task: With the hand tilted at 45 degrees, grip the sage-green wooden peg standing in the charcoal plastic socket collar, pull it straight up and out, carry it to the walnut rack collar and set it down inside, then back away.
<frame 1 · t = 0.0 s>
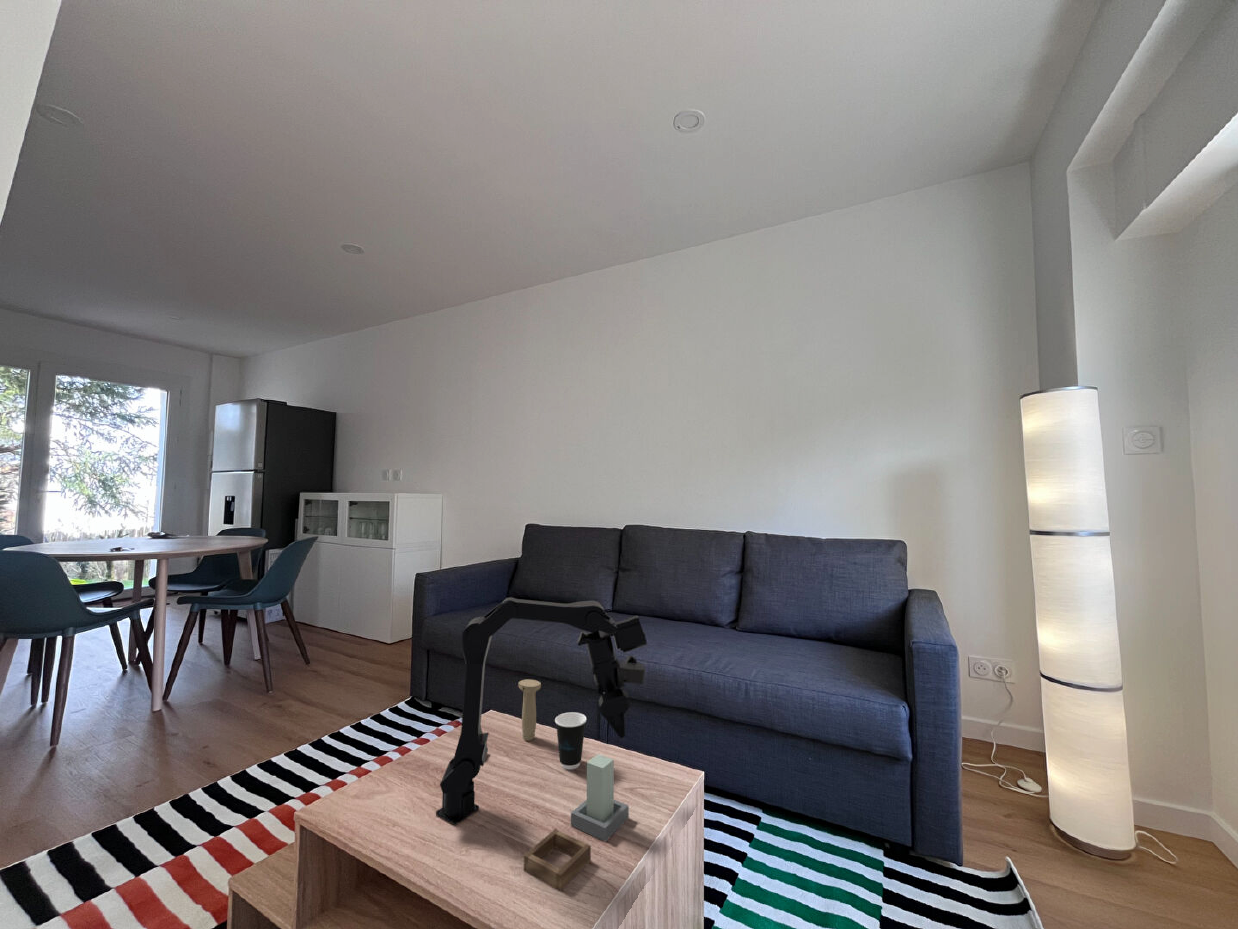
hand: (619, 727, 108), 15 cm above the table, tool pointing down, fingers open, 9 cm apart
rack: (557, 865, 88), on the table
handle: (528, 739, 135), on the table
dixie cup: (570, 765, 122), on the table
socket: (600, 822, 100), on the table
peg: (600, 791, 100), in the socket
mineral rock: (467, 762, 124), on the table
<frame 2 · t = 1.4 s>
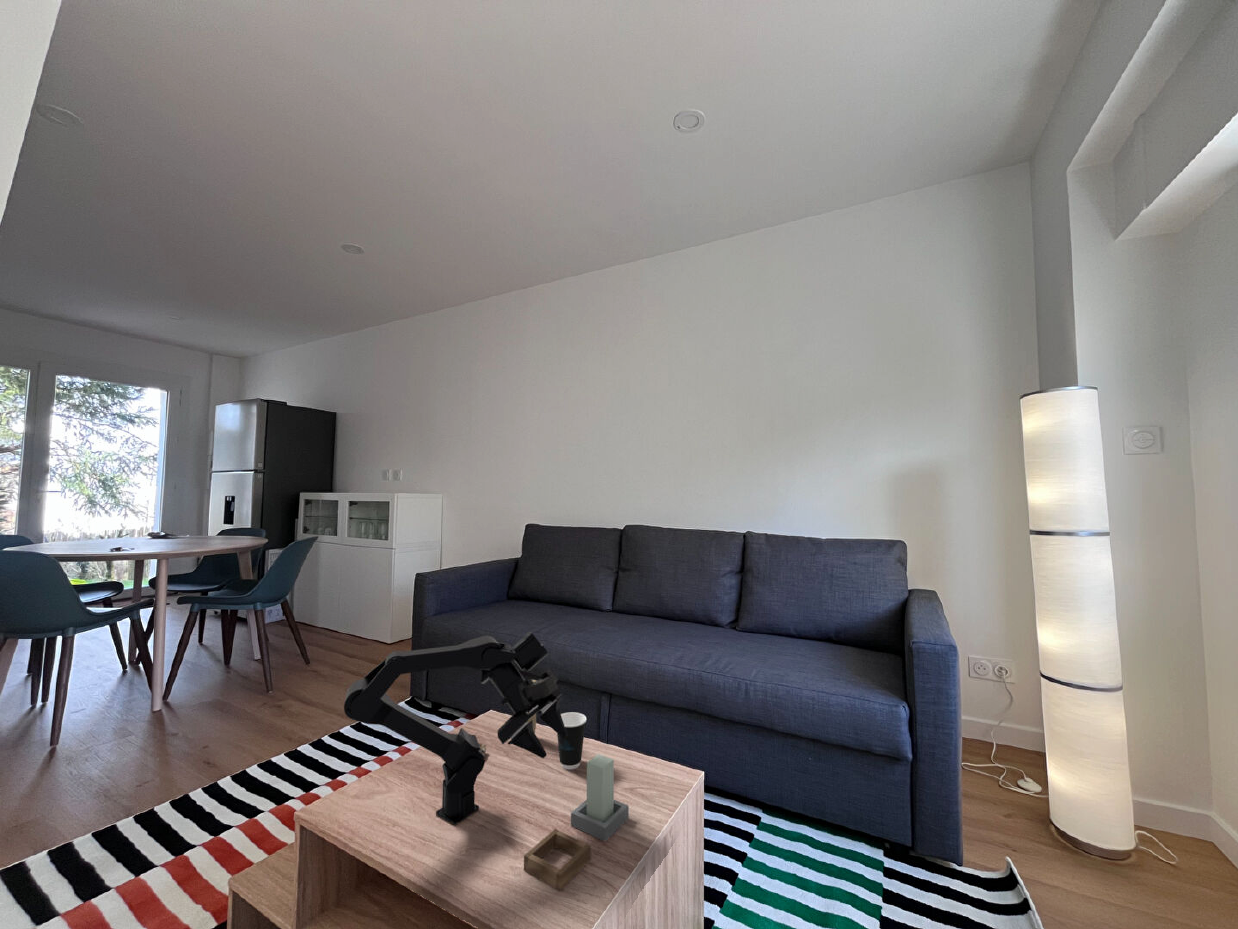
hand: (555, 746, 103), 14 cm above the table, tool tilted 45°, fingers open, 9 cm apart
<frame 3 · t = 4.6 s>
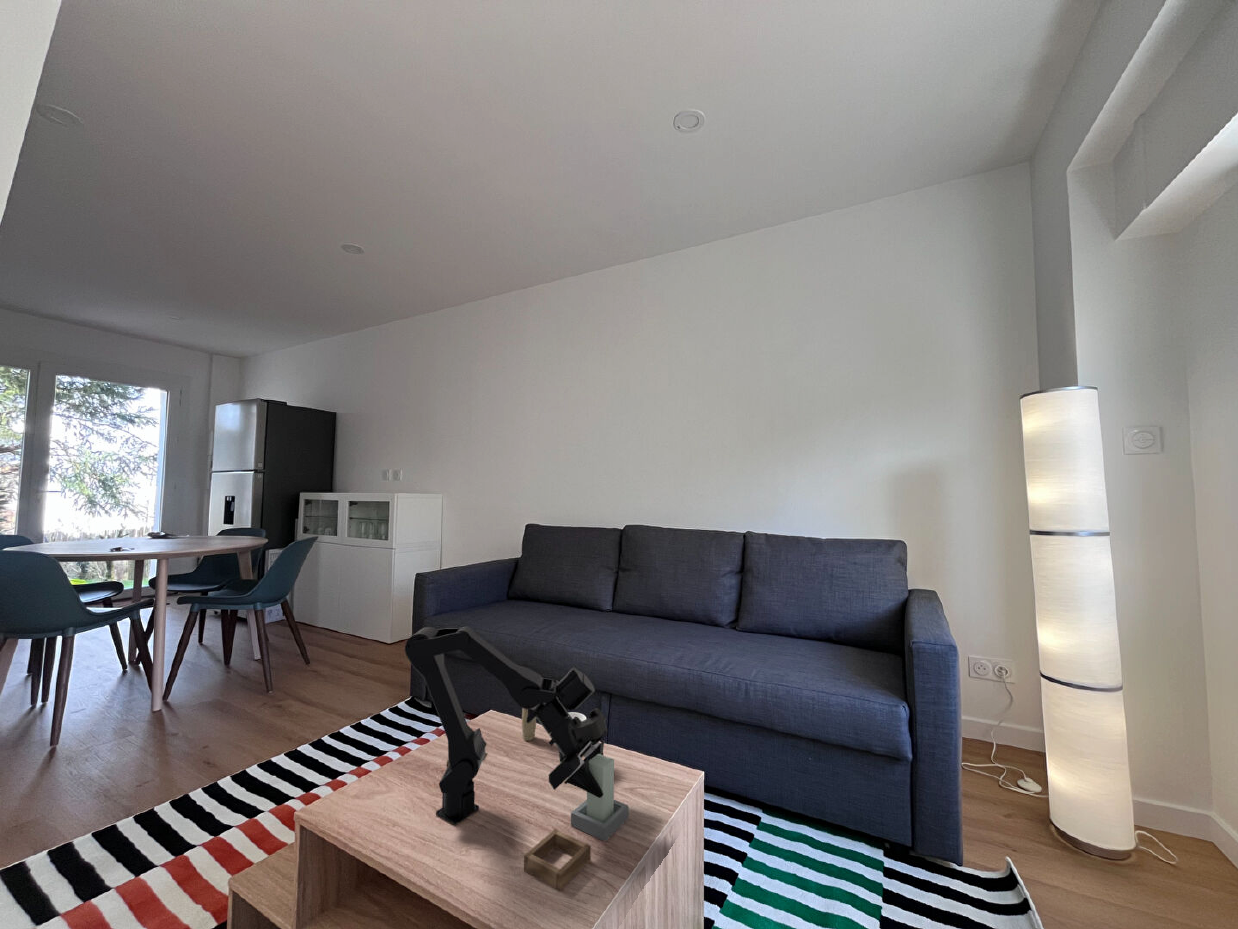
hand: (606, 789, 100), 7 cm above the table, tool tilted 45°, fingers closed on peg, 5 cm apart
peg: (600, 791, 100), in the socket, touching gripper
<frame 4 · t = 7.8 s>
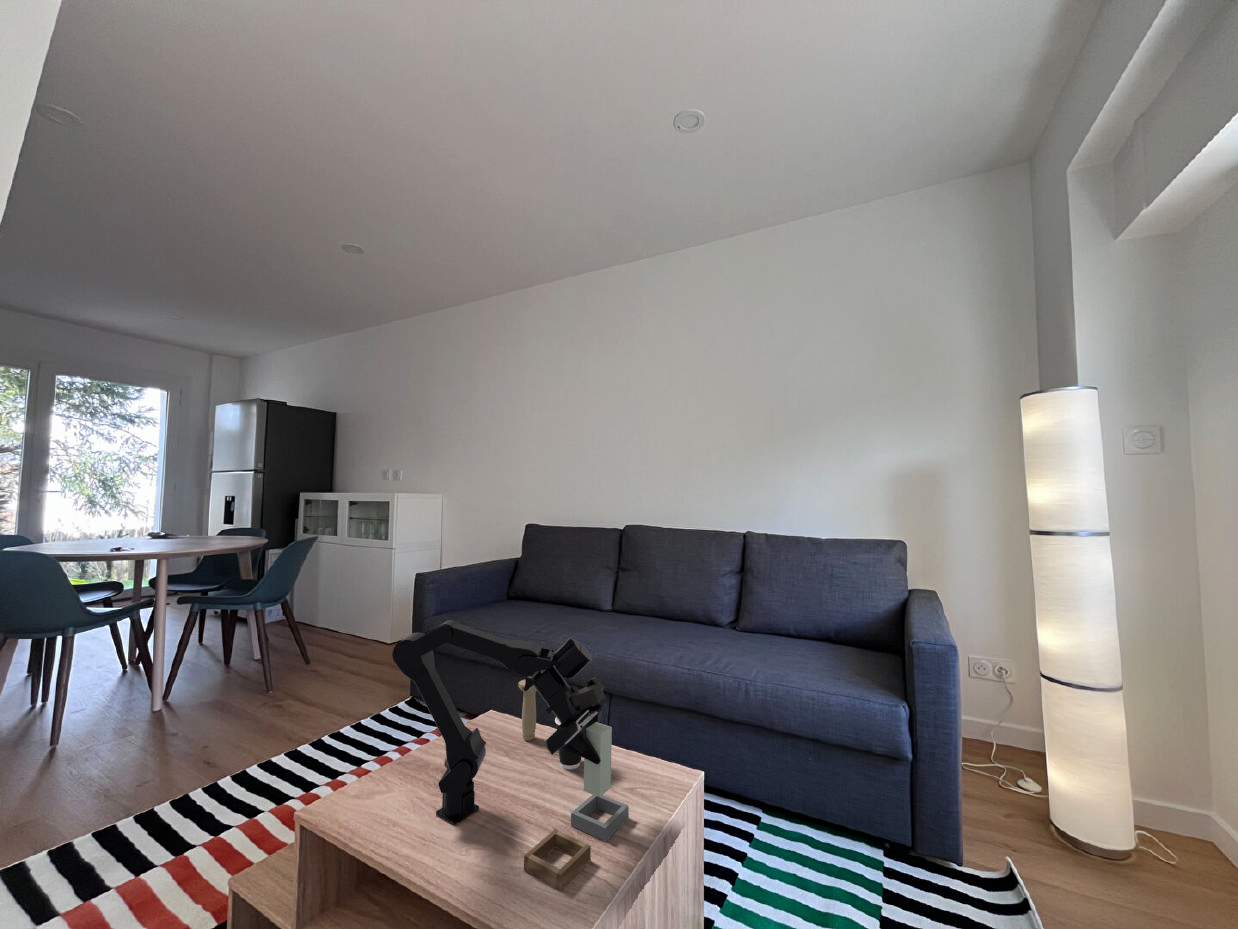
hand: (603, 757, 100), 13 cm above the table, tool tilted 45°, fingers closed on peg, 5 cm apart
peg: (597, 758, 100), point 13 cm above the table, touching gripper
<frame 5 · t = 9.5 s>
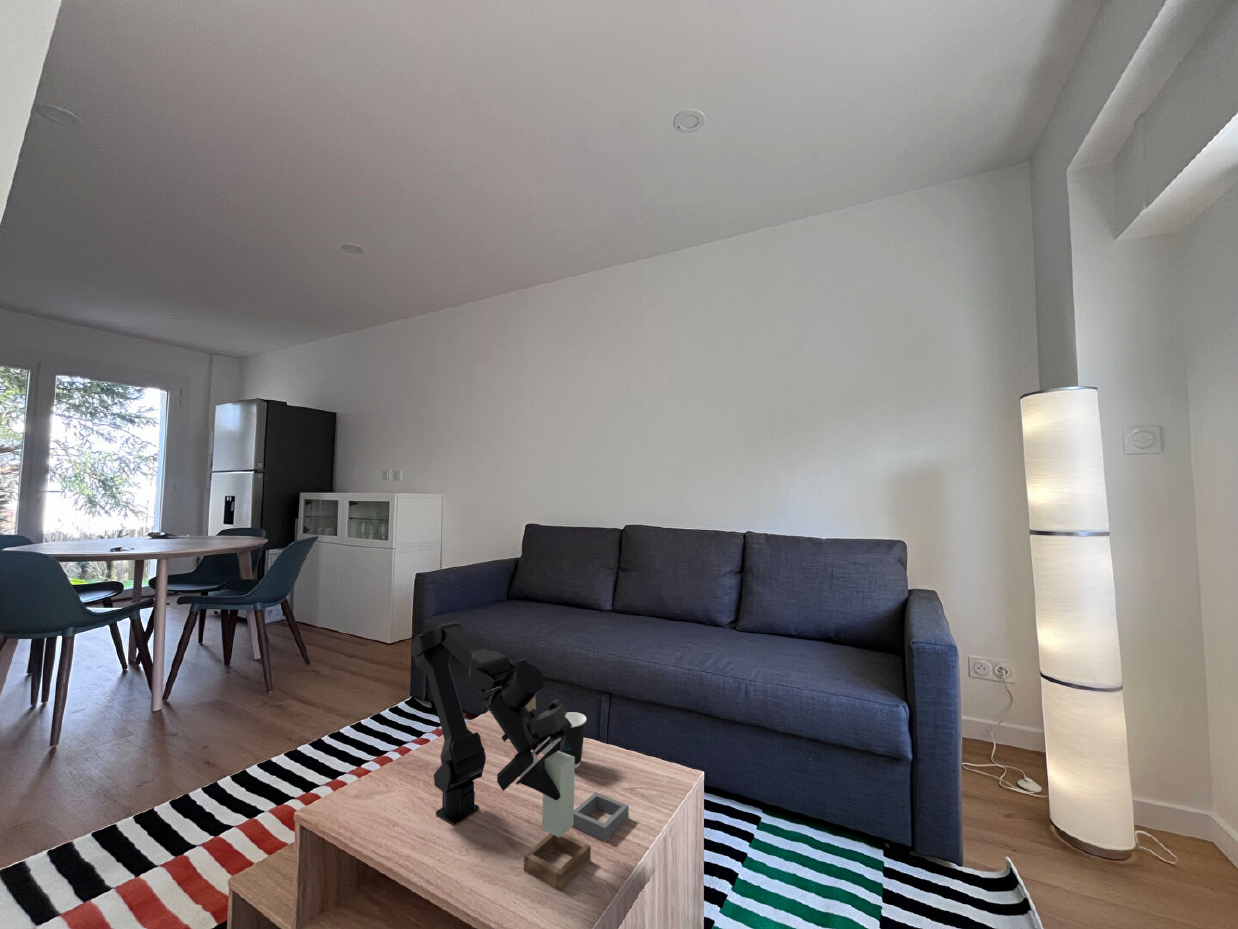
hand: (565, 791, 88), 13 cm above the table, tool tilted 45°, fingers closed on peg, 5 cm apart
peg: (558, 792, 89), point 12 cm above the table, touching gripper
when the fingers open (8 cm above the table, at t = 10.9 s): peg drops 1 cm, resting in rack.
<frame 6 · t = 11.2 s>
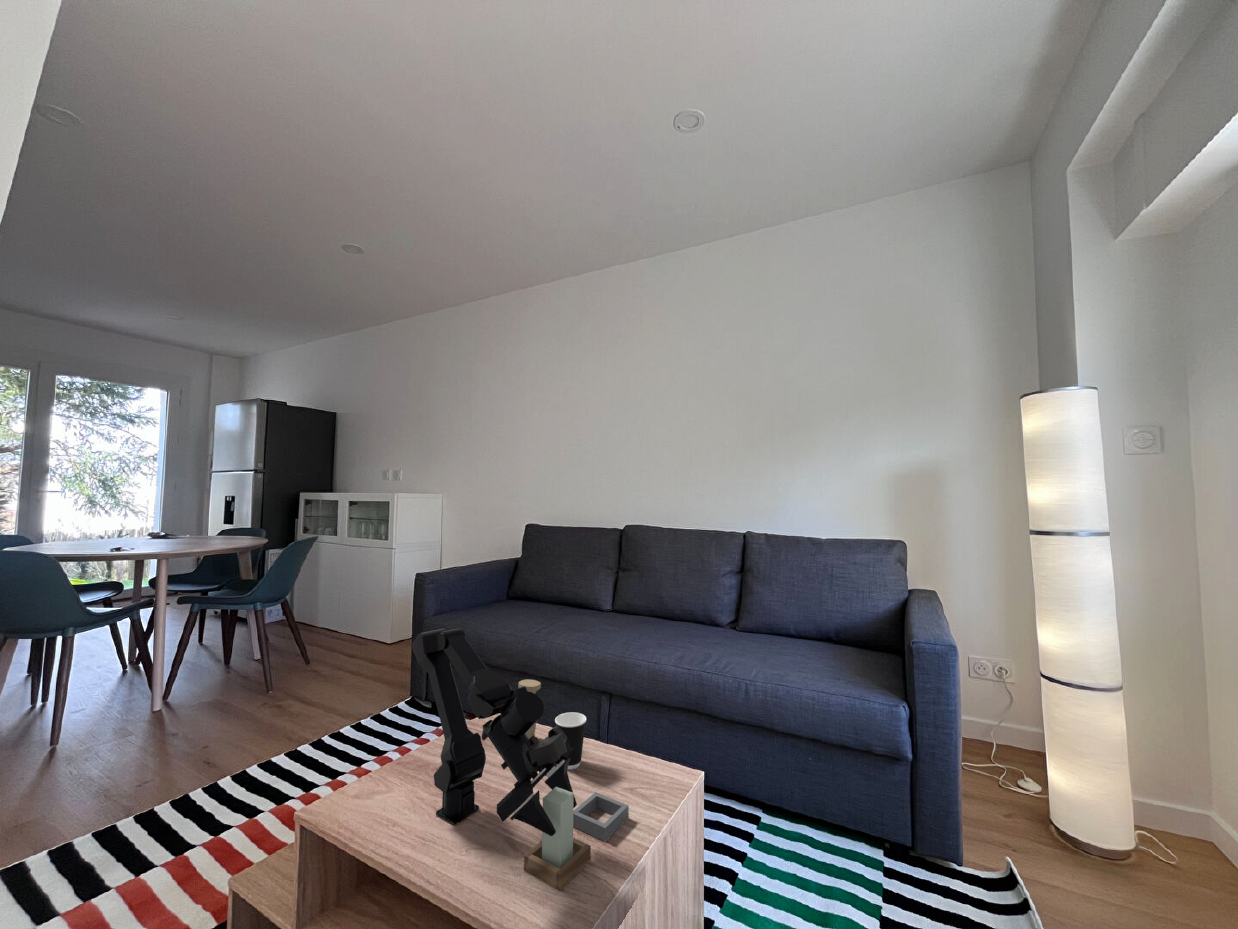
hand: (564, 820, 88), 8 cm above the table, tool tilted 45°, fingers open, 8 cm apart
peg: (557, 830, 88), in the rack
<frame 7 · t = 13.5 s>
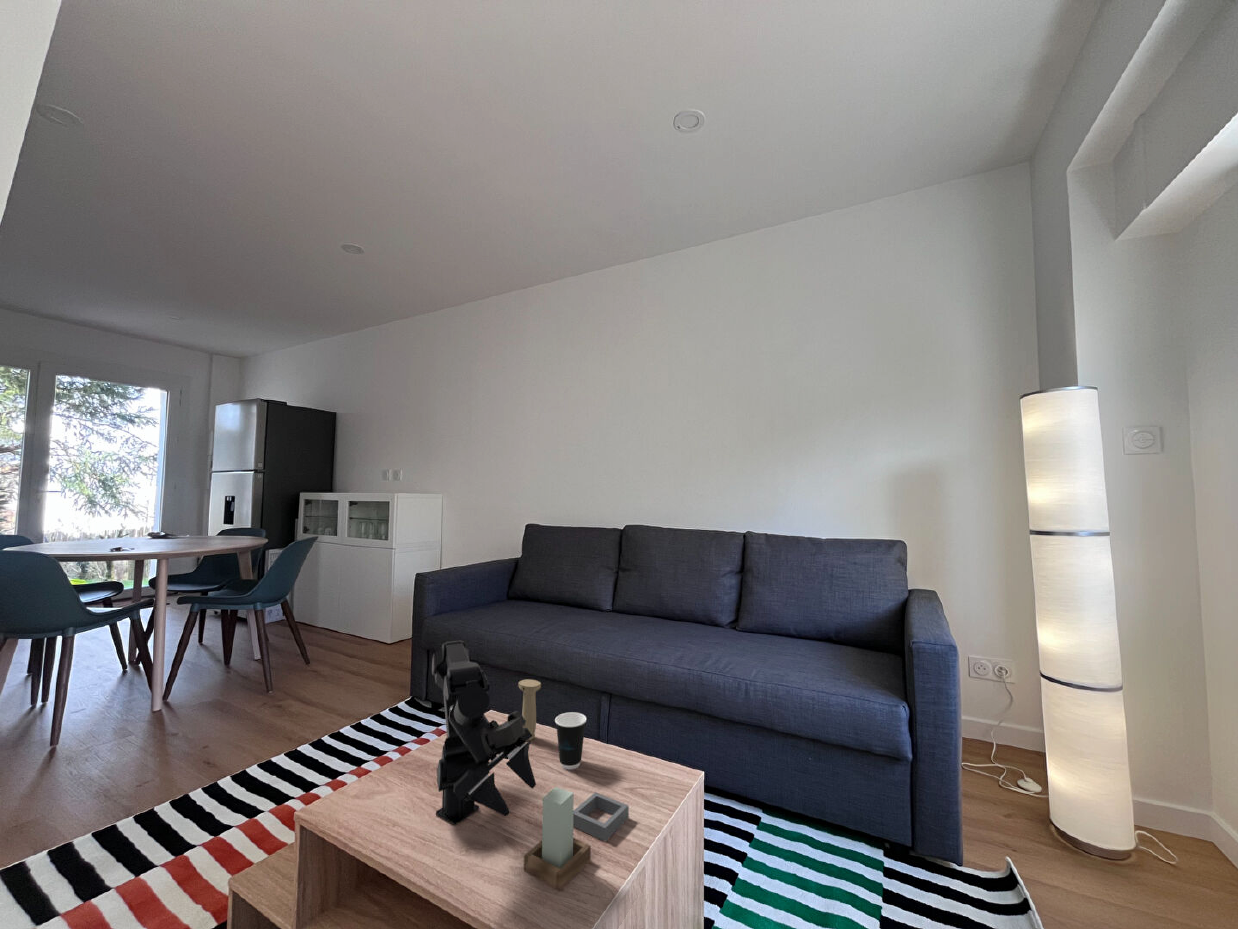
hand: (521, 800, 92), 10 cm above the table, tool tilted 45°, fingers open, 9 cm apart
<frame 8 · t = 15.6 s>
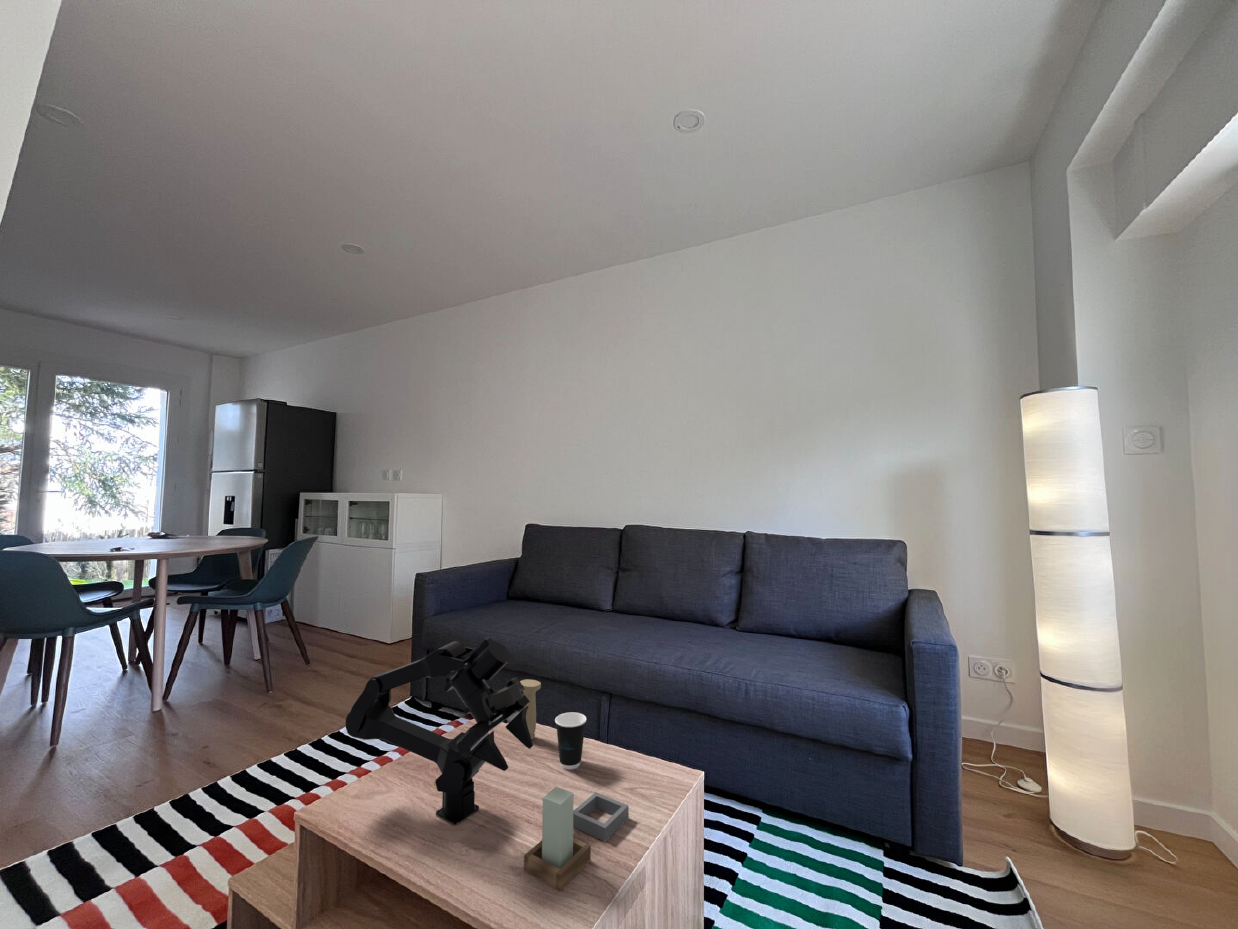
hand: (519, 758, 99), 14 cm above the table, tool tilted 45°, fingers open, 9 cm apart
at the end: peg 0.1 cm off-centre on the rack, point 6.0 cm above the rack's base; peg tilted 0°; the gripper is holding nothing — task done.
